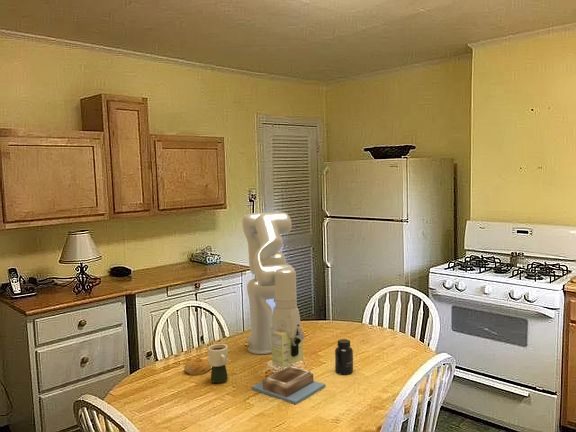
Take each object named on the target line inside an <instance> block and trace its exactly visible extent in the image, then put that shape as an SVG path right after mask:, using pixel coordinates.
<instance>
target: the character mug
mask: <svg viewBox="0 0 576 432" xmlns="http://www.w3.org/2000/svg"><path fill="white" fill-rule="evenodd" d="M207 351H208V353H207V355H208V361H209V365H210V366H211V369H210V370H211V373H210V382H212V383H224V382H227V381H228V379H229V378H228V372H227V371H228V370H227V366H226V365H227V364H228V363H229V358H228V356H229V355H228V353H229V351H228V345H227V344H225V343H224V344H223V343H217V344H211V345H210V346H208V348H207Z"/></svg>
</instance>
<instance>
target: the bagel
mask: <svg viewBox="0 0 576 432" xmlns="http://www.w3.org/2000/svg"><path fill="white" fill-rule="evenodd" d="M183 369H184V372H186V373H188V374H189V375H191V376H199V375H204V374H206V373H208V372H209V371H210V370H212V366H210V365H209V360H207V359H203V358H195V359H192V360H191V359H190V360H188V361H187V362H185V364H184V366H183Z"/></svg>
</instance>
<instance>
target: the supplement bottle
mask: <svg viewBox="0 0 576 432" xmlns="http://www.w3.org/2000/svg"><path fill="white" fill-rule="evenodd" d="M336 345H337V347H336V348H335V349H334V367H335V369H334V371H335V373H337V374H339V375H350V374H352V373H353V372H354V348H352V347H351V340H349V339H345V338H341V339H338V340H337V344H336Z"/></svg>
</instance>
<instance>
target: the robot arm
mask: <svg viewBox="0 0 576 432" xmlns="http://www.w3.org/2000/svg"><path fill="white" fill-rule="evenodd" d="M242 230H243V233H244V235H245V239H246V240H247V248H248V263H249V264H248V265H249V270H250V272H251V274H253V275H255V277H254V278H252V279H250V280H249V281H248V282H247V286H246V289H247V295H248V302H249V315H250V316H249V319H250V336H247V338H246V339H245V342H246V343H249V345H248V347H247V351H248V352H249V353H250V354H253V355H268V354H272V344H271V331H275V330H277V331H282V332H286V333H287V338H290V339H291V341H292V344H293V345H292V346H291V354H292V357H295V356H297V355H298V354H299V346H298V344H300V342H301V341H302V340H304V339H306V334H305V333H304V331H303V329H302V330H301V327H302V322H301V316H300V310H299V308H298V301H297V300H298V299H297V298H298V297H297V272H296V270H295V268H294V267H293V266H292V264H288V263H287V259H286V257H285V254H284V252H282V251H280V250H281V249H282V247H283V240H282V237H281V235H282V234H288V233H290V232H291V230H292V219H291V217H290V215H289V214H288V213H287V212H282V211H271V212H251V213H248V214H245V215H244V216H243V218H242ZM267 300H273V302H274V303H275V305H274V307H273V309H272V307H271V305H270V304H269V303H268V302H267ZM298 336H299V338H298ZM294 338H295V339H294ZM295 340H296V341H295Z"/></svg>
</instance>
